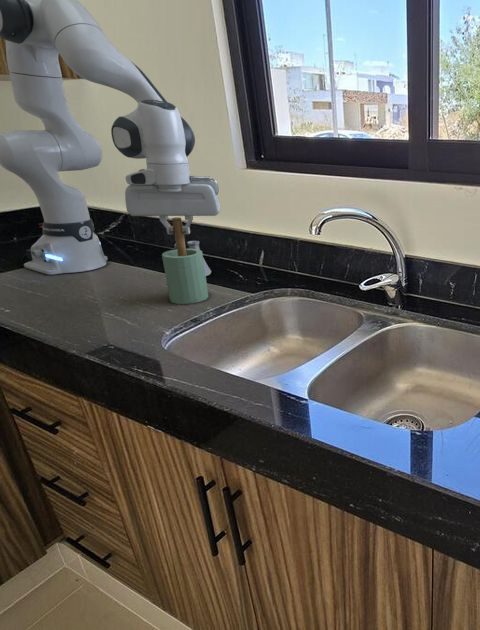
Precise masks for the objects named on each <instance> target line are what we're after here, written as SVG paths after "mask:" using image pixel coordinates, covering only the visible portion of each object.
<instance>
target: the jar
mask: <svg viewBox="0 0 480 630" xmlns="http://www.w3.org/2000/svg"><path fill="white" fill-rule="evenodd" d="M186 253H187V256H178V253H177V248H176V249H171V250H167V251H164V252H163V253H161V258H162V263H163V264H162V265H163V269H164V274H165V280H166V286H167V292H168V297H169V300H170V302H171V303H172V304H177V305H191V304H196V303H197V304H198V303H200V302H204V301H205V300H207V299H208V298H209V290H208V283H207V276H206V275H205V268H204V261H203V258H204V254H203V250H201V249H200V250H198V249H189V248H186Z"/></svg>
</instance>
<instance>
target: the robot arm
mask: <svg viewBox="0 0 480 630" xmlns="http://www.w3.org/2000/svg"><path fill="white" fill-rule="evenodd" d="M0 38H1V39H2V40H5V54H6V64H7V69H8V74H9V79H10V83H11V89H12V92H13V98H14V101H15V103H16V104H17V105H18V107H19V108H20V109H21V110H23V111H24V112H26V113H28V114H30V115H32V116H34V117H36V118H39V119H40V120H41V121H42V124H43V126H44V129H42V130H40V129H39V130H38V129H37V130H36V129H35V130H33V129H27V130H25V129H17V130H16V129H15V130H11V131H9V130H8V131H5V132H0V166H1V167H2V168H3V169H5V170H6V171H8V172H10V173H11V174H14V175H16V176H17V177H19V178H20V179H21V180H22V181H24V182H25V183H26V184H27V185H28V187H29V188H30V189H31V190H32V191H33V194H34V195H35V197H36V200H37V202H38V205H39V208H40V211H41V214H42V219H43V222H41V223H38V225H39V228H42V235H41V236H40V237H39V238H38V239H37V240H36V242H34V243H33V244H32V245H31V247H30V248H29V249H26V250H25V253H24V254H23V255H22V257H21V262H25V260H26V258H27V259H28V260H29V261H27V262H25V263H23V267H24V268H26V269H28V270H33V271H35V272H38V273H41V274H45V275H49V276H50V275H58V274H59V275H60V274H71V273H82V272H88V271H92V270H97V269H100V268H103V267H104V266H106V265H107V264H108V263H107V261H108V260H109V258H108V256H106V255H105V254H104V251H103V248H102V244H101V241H100V239H99V237H98V235H97V234H96V233H95V227H94V226H95V225H94V221H93V219H92V218H91V217H90V212H89V208H88V203H87V200H86V196H85V194H84V193H83V191H82V190H80V189H79V188H77V187H75V186H73V185H71V184H69V183H64V182H63V181H62V179H60V176H59V174H58V172H71V171H72V172H73V171H74V172H75V171H84V170H88V169H92V168H95V167H98V166H99V165H100V164H101V162H102V159H103V149H102V147H101V144H100V142H99V141H98V140H97V139H96V137H95V136H93V135H92V134H91V133H89V132H87V130H85V128H83V127H82V126H81V125H80V124H79V122H78V121H77V120H76V119H75V117H74V116H73V114H72V111H71V109H70V107H69V103H68V99H67V96H66V91H65V87H64V86H65V85H64V80H63V74H62V69H61V65H60V62H59V56H60V57H61V59H62V60H63V62H64V63H65V65H67V67H68V68H69V69H70V70H71V71H72V72H73V73H74V74H76V75H77V76H79V77H80V78H81V79H84V80H86V81H89V82H91V83H94V84H98V85H101V86H105V87H108V88H111V89H113V90H117V91H118V92H121V93H123V94H126V95H127V96H129V97H131V98H132V99H133V100H134V101H136V103H137V107H136V108H135V109H134V110H133V111H131V112H129V113H127V114H125V115H123V116H118V117H117V118H116V119H115V120H114V121H113V123H112V125H111V129H110V132H111V133H110V134H111V139H112V143H113V145H114V147H115V148H116V149H117V150H118V152H119V153H121V154H122V155H123V156H124V157H126V158H129V159H130V158H131V159H135V160H136V159H137V160H141V159H144V160H145V161H146V162H145V164H146V168H142V169H138V170H137V171H134V172H131V173H129V174H126V176H125V182H126V184H128V185H127V187H125V190H124V201H125V208H126V212H127V214H129V215H130V216H131V217H158V218H159V221H160V222H161V224H162V225H163V226H164V227H165V229H166V234H167V235H175V234H174V228H173V225H171V224H170V223H169V221H168V220H169V217H184V221H187V222H186V224H185V225H182V227H181V228H182V234H184V235H190V234H191V227H190V226H191V224H192V223H193V221H194V217H215V216H216V217H217V216H218V215H219V214H220V212H221V204H220V200H219V196H218V194H219V183H218V181H217V180H216V179H214V178H212V177H211V176H208V175H205V176H199V175H191V171H190V163H189V159H188V156H190V154H191V153H192V152H193V150H194V148H195V144H196V137H195V136H196V135H195V133H194V130H193V129H192V127H191V126H190V124H189V123H188V122H187V121H186V120H185V118H183V117H182V116H181V114H180V111H179V109H178V107H177V105H174V104H173V103H170V102H168V101H167V100H166V99H165V97H164V96H163V95H162V94H161V92H160V91H159V90H158V89H157V87H156V86H155V85H154V83H153V82H152V81H151V80H150V78H149V77H148V76H147V75H146V74H145V72H144V71H143V70H142V69H141V68H140V67H139V66H137V64H136V63H134V62H133V61H131V60H130V59H128V57H126V56H125V55H124V54H123V53H122V52H121V51H120V50H119V49H118V48H116V46H115V45H114V44H113V42H112V41H110V39H109V38H108V37H107V35H106V33H105V32H104V31H103V29H102V27H101V26H100V24H99V23H98V21H97V20H96V19H95V18H94V17H93V15H92V14H91V13H90V12H89V11H88V9H87V8H86V6H84V5H83V4H82V2H80V0H0Z"/></svg>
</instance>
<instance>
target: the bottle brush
mask: <svg viewBox="0 0 480 630" xmlns="http://www.w3.org/2000/svg"><path fill="white" fill-rule="evenodd" d="M171 221H172V226H173V228H174V234H173V235H174V239H175V246H176V249H177V253H178V256H187V253H186V249H187V247H186V241H185V240H186V239H185V234H182V228H181V227H182V226H183V222H182V217H181V216H174V217H172V218H171Z"/></svg>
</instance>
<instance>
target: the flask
mask: <svg viewBox="0 0 480 630" xmlns="http://www.w3.org/2000/svg"><path fill="white" fill-rule="evenodd" d="M186 244H187V246H188V249H198V250H201V249H200V241H199V240H189V241H187V242H186ZM203 261H204V268H205V275H206V277H207V276H210V275H211V273H212V270H211V268H210V267H209V266H208V265H209V264H207V261H206V260H205V258H204V257H203Z"/></svg>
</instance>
